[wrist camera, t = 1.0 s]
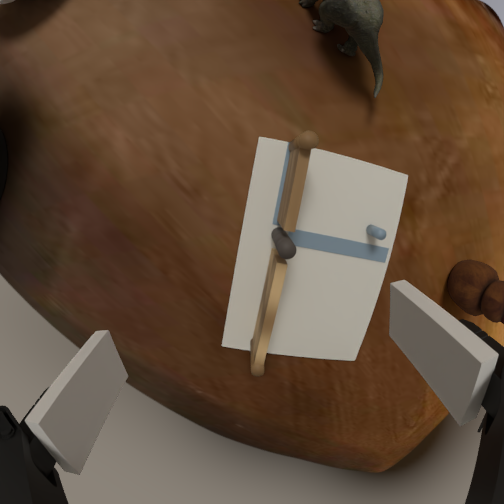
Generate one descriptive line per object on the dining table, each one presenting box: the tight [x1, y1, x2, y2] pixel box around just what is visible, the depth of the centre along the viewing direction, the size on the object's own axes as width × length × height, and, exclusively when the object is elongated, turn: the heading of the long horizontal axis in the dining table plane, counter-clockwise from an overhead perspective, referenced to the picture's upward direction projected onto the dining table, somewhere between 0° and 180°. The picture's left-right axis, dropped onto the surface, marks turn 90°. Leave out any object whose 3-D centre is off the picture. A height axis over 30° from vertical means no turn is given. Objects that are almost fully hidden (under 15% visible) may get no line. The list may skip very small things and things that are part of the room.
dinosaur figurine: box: [299, 0, 383, 98], centre depth 21 cm, size 22×8×11 cm, turn 179°
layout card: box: [222, 137, 408, 361], centre depth 32 cm, size 18×25×3 cm
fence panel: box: [250, 248, 288, 376], centre depth 31 cm, size 12×1×6 cm, turn 170°
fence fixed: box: [271, 131, 319, 259], centre depth 28 cm, size 2×11×8 cm, turn 170°
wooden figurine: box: [447, 260, 504, 324], centre depth 27 cm, size 7×6×15 cm
